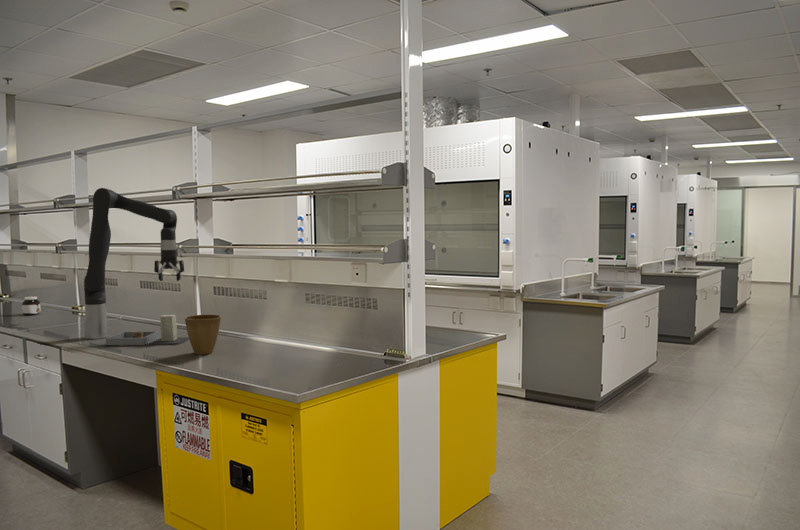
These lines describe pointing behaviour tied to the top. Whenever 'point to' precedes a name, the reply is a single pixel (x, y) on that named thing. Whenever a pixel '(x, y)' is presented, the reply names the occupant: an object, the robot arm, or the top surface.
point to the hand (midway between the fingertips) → (169, 280)
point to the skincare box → (168, 327)
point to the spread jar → (31, 306)
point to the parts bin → (128, 339)
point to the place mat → (177, 341)
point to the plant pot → (203, 332)
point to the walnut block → (138, 334)
